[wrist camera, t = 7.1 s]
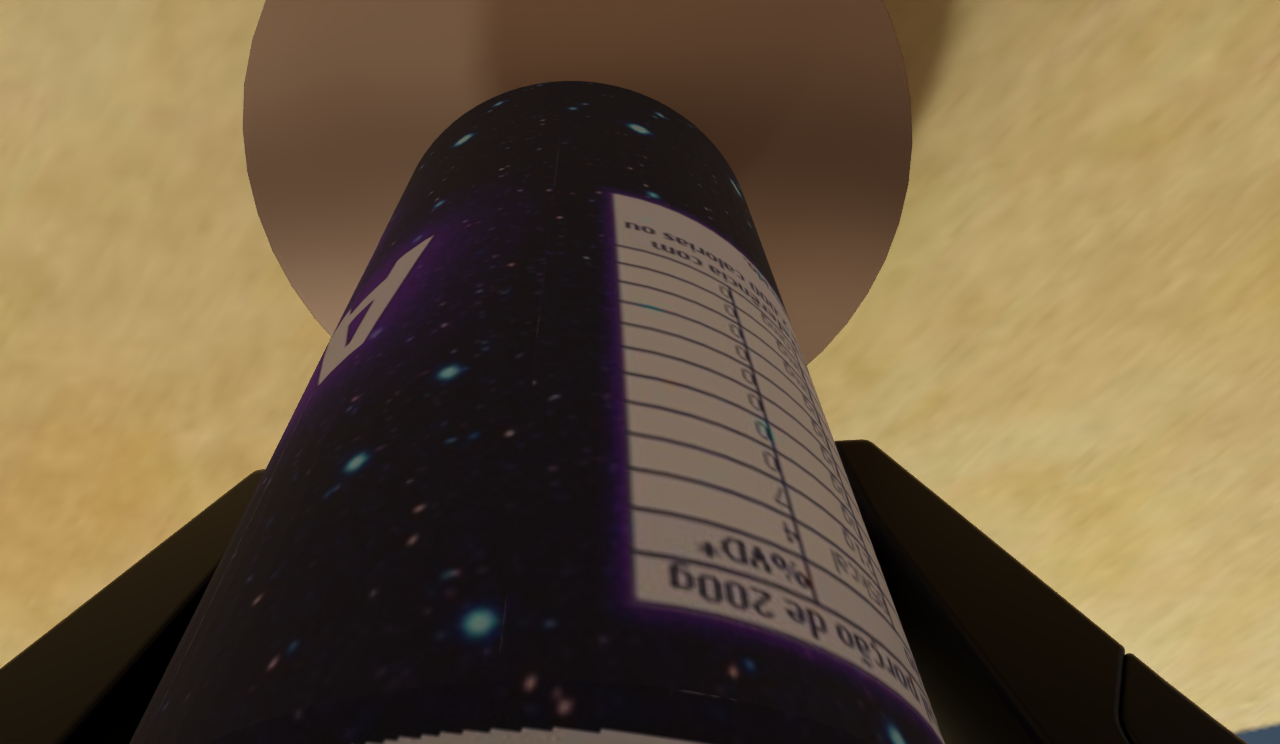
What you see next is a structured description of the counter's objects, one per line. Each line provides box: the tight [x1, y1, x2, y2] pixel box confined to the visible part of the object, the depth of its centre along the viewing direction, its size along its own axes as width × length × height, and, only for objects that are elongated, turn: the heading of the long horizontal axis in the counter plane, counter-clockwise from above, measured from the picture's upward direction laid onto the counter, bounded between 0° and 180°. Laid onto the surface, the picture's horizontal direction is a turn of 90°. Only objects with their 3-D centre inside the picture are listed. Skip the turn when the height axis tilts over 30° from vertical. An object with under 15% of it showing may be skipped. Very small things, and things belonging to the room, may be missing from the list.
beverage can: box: [129, 81, 945, 744], centre depth 9 cm, size 6×6×12 cm
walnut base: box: [243, 0, 912, 366], centre depth 16 cm, size 12×12×2 cm
